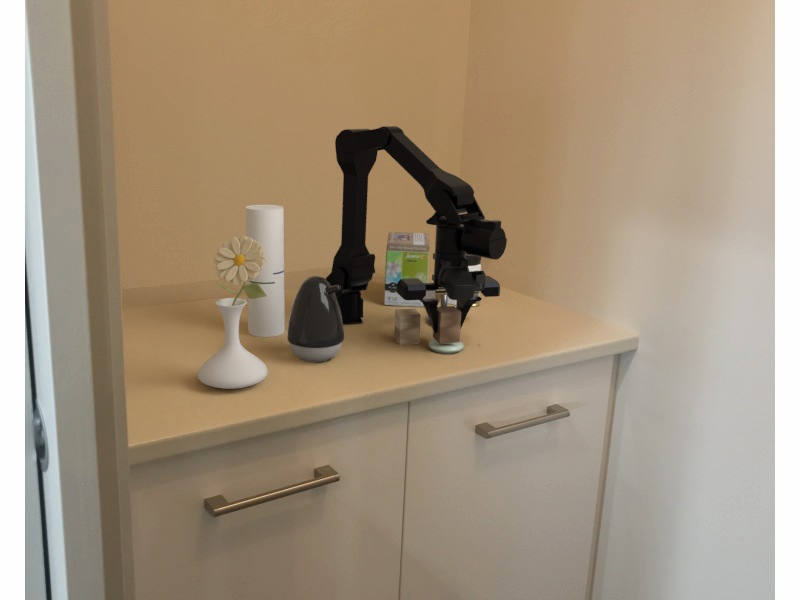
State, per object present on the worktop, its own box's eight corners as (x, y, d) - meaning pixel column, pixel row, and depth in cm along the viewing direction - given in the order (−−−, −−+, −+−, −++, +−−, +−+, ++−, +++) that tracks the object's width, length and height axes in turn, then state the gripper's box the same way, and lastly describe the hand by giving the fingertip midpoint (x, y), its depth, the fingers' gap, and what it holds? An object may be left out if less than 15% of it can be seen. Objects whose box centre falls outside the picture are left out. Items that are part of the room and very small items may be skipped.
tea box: (427, 307, 176) (430, 243, 172) (383, 306, 176) (385, 242, 172) (426, 291, 190) (428, 231, 186) (385, 289, 190) (387, 230, 186)
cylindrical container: (291, 332, 155) (291, 207, 149) (263, 339, 150) (261, 211, 144) (269, 324, 160) (268, 203, 153) (241, 331, 155) (238, 206, 148)
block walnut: (439, 343, 145) (441, 312, 144) (432, 337, 149) (434, 307, 147) (459, 342, 146) (461, 311, 145) (452, 335, 150) (453, 306, 148)
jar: (456, 308, 176) (459, 256, 173) (435, 299, 183) (437, 249, 179) (486, 303, 181) (490, 252, 178) (465, 295, 187) (468, 246, 184)
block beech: (399, 345, 150) (400, 315, 148) (394, 338, 153) (395, 309, 152) (419, 343, 151) (420, 314, 149) (413, 337, 154) (414, 308, 153)
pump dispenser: (321, 371, 134) (322, 286, 130) (275, 359, 140) (274, 277, 136) (355, 355, 143) (357, 275, 139) (311, 344, 148) (311, 267, 144)
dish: (434, 355, 144) (435, 350, 144) (424, 344, 150) (424, 339, 150) (468, 353, 146) (468, 348, 146) (456, 342, 152) (456, 337, 152)
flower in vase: (182, 384, 126) (175, 233, 120) (231, 365, 136) (227, 224, 129) (242, 403, 120) (238, 244, 113) (289, 381, 129) (288, 233, 123)
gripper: (415, 261, 133) (411, 348, 137) (515, 258, 138) (508, 341, 142) (397, 248, 143) (394, 329, 147) (490, 246, 148) (485, 324, 153)
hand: (446, 331), depth 147 cm, fingers open, 4 cm apart
